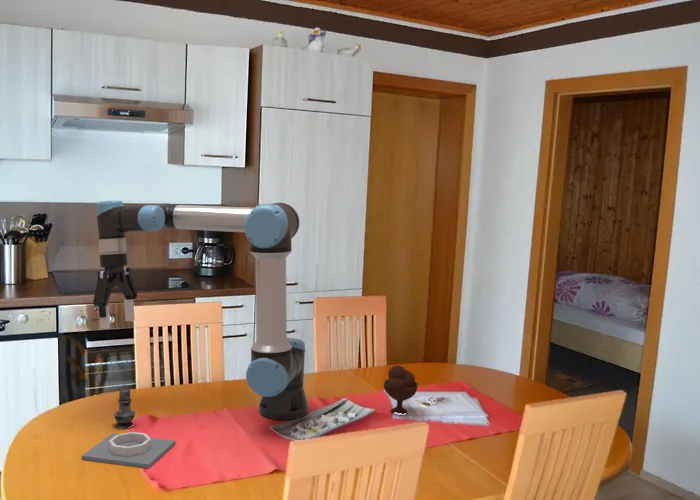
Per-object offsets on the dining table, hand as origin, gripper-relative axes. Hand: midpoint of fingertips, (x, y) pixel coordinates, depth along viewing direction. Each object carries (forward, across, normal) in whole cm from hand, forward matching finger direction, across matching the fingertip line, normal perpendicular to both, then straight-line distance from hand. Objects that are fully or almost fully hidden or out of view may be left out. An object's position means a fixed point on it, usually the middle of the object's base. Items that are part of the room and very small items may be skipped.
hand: (118, 324), depth 195 cm
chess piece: (+28, +9, +5) cm, 29 cm away
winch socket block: (+29, +24, +15) cm, 41 cm away
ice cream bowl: (+34, -27, +79) cm, 90 cm away
